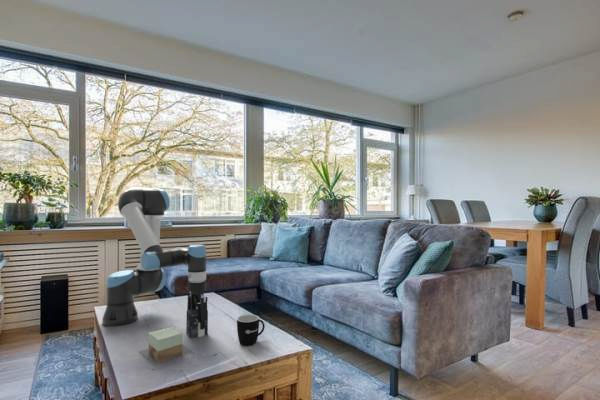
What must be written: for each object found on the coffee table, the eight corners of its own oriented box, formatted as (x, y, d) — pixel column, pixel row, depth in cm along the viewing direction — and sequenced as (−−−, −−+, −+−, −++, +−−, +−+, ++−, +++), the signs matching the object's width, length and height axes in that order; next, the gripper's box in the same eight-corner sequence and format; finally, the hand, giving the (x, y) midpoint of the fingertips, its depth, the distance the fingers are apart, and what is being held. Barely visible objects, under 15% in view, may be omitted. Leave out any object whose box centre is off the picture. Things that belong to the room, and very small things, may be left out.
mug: (242, 349, 130) (242, 323, 130) (233, 341, 137) (233, 317, 138) (269, 342, 137) (269, 317, 137) (259, 335, 144) (259, 311, 144)
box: (189, 339, 140) (189, 313, 141) (186, 334, 145) (186, 310, 145) (208, 334, 145) (208, 310, 145) (204, 330, 150) (204, 307, 150)
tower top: (148, 343, 125) (148, 333, 125) (172, 336, 132) (172, 326, 132) (158, 351, 119) (158, 340, 119) (182, 343, 125) (182, 333, 125)
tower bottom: (148, 354, 125) (148, 343, 125) (172, 347, 132) (172, 336, 132) (158, 362, 119) (158, 351, 119) (182, 354, 125) (182, 343, 125)
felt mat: (138, 352, 127) (138, 351, 127) (176, 341, 138) (176, 340, 138) (153, 366, 117) (153, 365, 117) (193, 352, 127) (193, 351, 127)
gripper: (178, 278, 149) (178, 330, 149) (200, 286, 136) (200, 343, 136) (194, 276, 155) (194, 326, 155) (216, 283, 141) (216, 337, 141)
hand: (197, 334), depth 145 cm, fingers open, 6 cm apart
